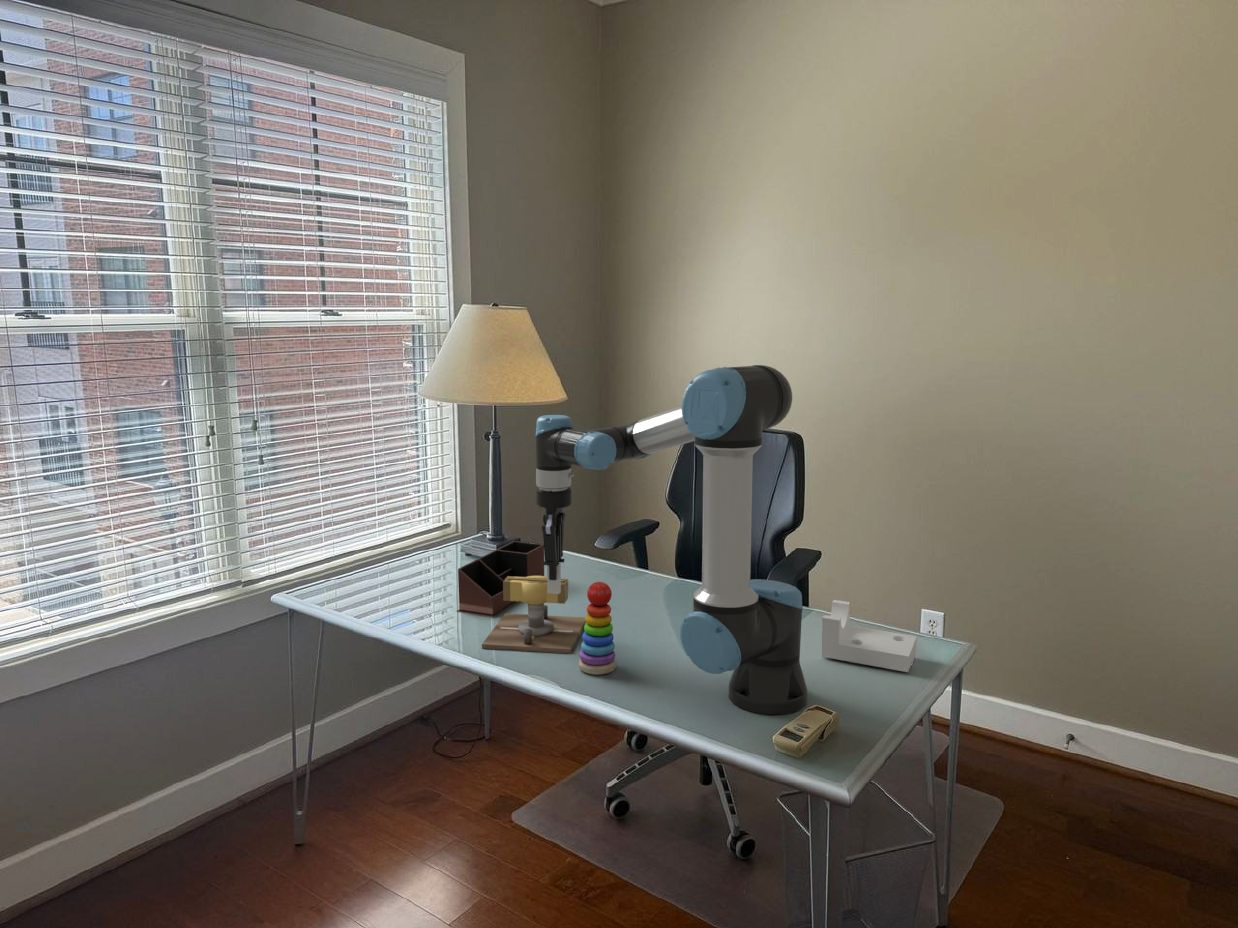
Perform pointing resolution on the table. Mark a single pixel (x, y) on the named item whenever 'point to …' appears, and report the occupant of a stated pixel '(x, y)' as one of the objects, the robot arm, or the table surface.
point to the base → (535, 631)
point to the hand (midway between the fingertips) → (554, 592)
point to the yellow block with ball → (532, 590)
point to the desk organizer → (496, 577)
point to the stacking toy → (598, 633)
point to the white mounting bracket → (864, 642)
